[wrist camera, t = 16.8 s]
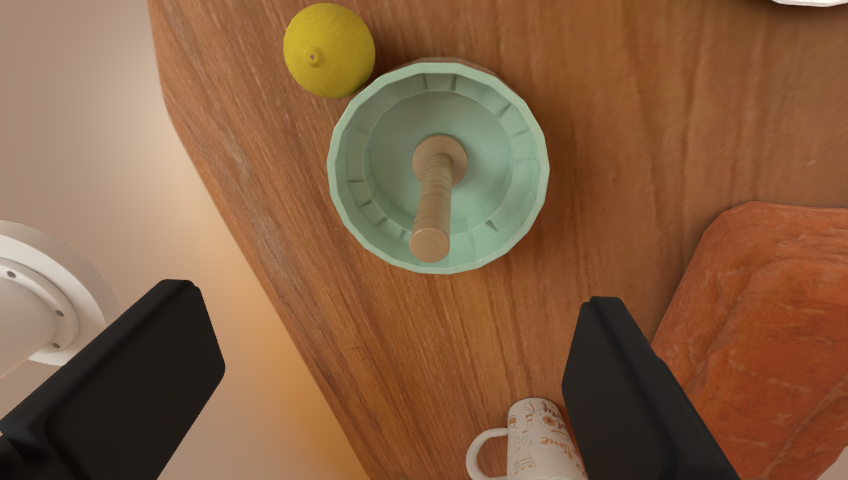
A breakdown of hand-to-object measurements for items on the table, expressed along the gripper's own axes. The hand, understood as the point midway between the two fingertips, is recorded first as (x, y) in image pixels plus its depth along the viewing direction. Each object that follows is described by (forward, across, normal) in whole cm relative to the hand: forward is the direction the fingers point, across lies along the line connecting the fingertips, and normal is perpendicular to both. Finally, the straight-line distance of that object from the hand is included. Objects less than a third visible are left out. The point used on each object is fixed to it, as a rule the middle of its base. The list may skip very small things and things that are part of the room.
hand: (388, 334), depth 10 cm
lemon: (+24, +6, -5) cm, 26 cm away
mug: (+24, -11, +35) cm, 44 cm away
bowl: (+24, -1, +3) cm, 24 cm away
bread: (+24, -30, +19) cm, 43 cm away
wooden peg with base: (+23, -1, +3) cm, 23 cm away
